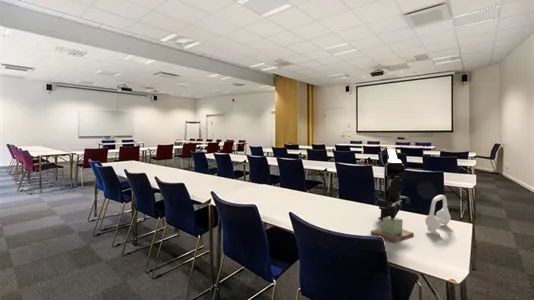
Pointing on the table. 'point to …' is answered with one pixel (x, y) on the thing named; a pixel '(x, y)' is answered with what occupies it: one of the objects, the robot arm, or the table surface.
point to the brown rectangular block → (391, 237)
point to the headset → (437, 215)
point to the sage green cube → (392, 225)
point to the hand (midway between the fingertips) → (392, 218)
